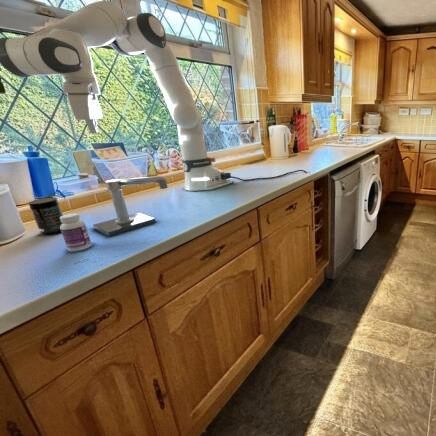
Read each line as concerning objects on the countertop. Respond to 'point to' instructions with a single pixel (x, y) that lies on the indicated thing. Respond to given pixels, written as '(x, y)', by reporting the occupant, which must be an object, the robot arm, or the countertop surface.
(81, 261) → the countertop surface
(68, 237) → the pill bottle
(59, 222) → the supplement container
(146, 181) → the spout
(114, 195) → the tap stand
